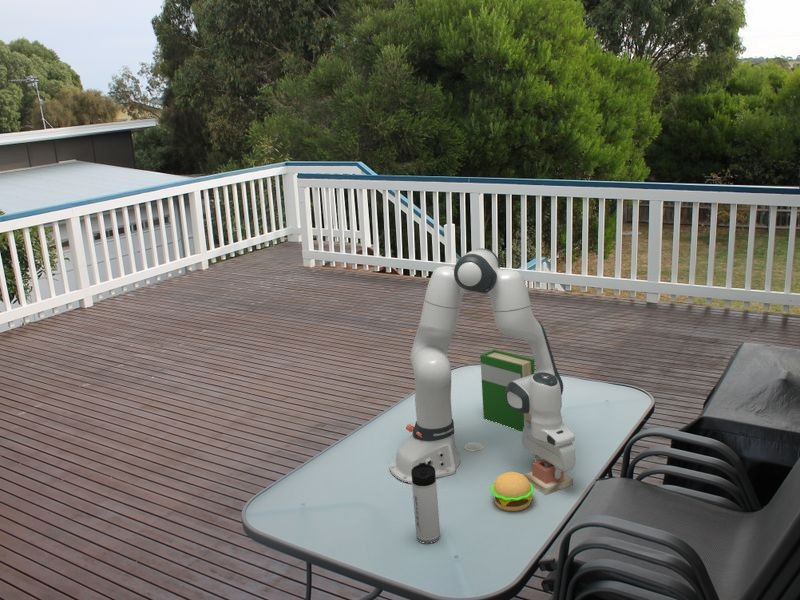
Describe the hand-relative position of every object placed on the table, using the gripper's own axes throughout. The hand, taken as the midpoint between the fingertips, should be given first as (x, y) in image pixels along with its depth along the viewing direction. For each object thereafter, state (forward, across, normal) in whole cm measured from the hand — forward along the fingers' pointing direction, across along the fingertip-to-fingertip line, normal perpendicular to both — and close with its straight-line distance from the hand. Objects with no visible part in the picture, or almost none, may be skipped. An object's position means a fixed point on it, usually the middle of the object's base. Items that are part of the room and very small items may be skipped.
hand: (548, 472), depth 216 cm
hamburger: (+4, +3, -15) cm, 16 cm away
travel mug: (+4, +4, -43) cm, 43 cm away
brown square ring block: (+1, 0, 0) cm, 1 cm away
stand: (+3, 0, 0) cm, 3 cm away
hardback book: (+4, -41, +16) cm, 44 cm away
